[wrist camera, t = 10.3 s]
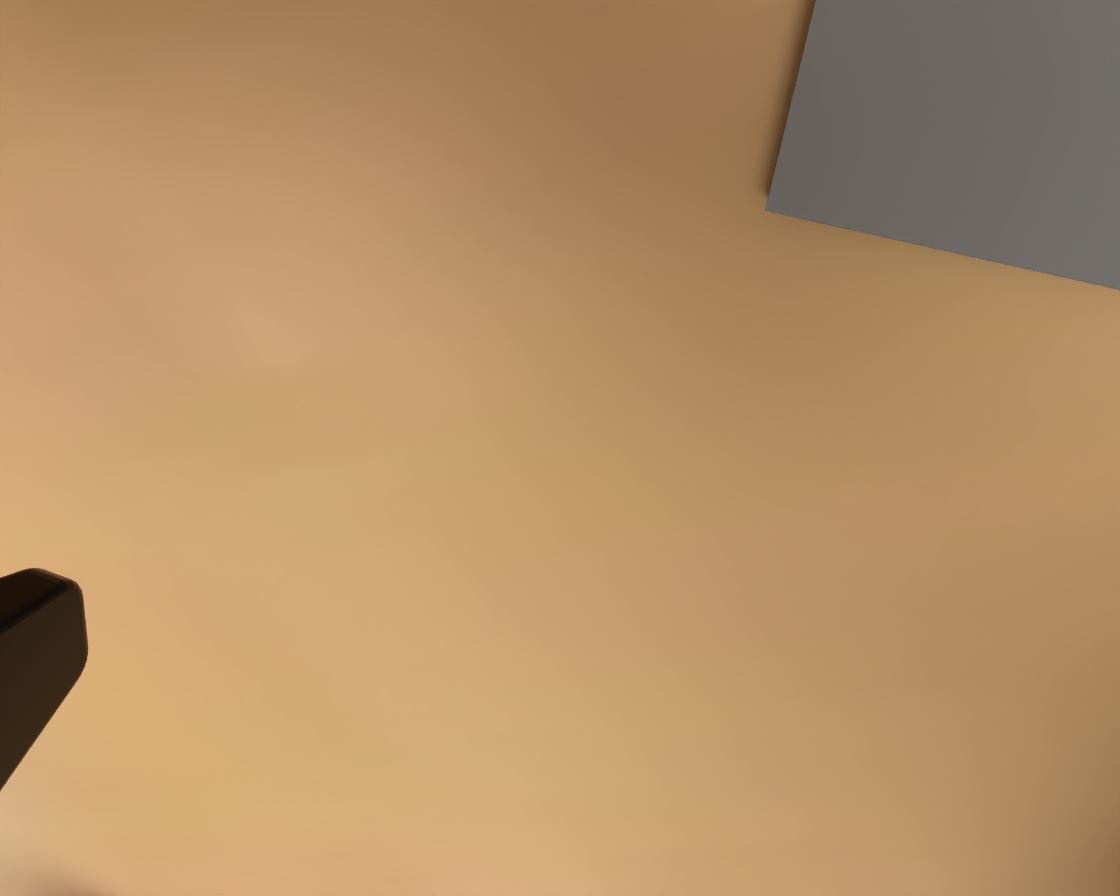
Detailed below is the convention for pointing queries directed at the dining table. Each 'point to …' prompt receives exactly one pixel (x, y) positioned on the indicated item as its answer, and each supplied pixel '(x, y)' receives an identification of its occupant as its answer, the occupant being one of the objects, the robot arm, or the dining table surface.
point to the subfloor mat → (962, 129)
